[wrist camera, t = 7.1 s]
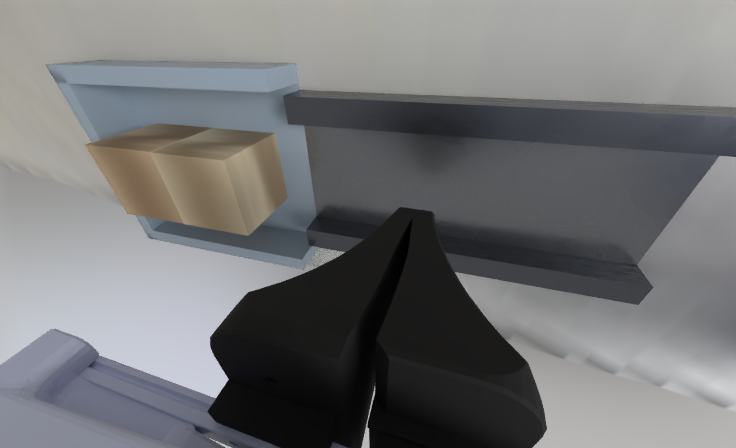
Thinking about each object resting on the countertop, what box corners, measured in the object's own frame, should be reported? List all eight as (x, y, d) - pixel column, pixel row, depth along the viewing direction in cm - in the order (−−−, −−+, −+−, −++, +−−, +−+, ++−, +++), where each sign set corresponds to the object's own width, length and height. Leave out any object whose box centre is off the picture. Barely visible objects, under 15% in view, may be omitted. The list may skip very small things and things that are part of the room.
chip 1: (212, 127, 16) (149, 151, 12) (233, 189, 18) (184, 223, 15) (157, 123, 16) (85, 144, 13) (183, 183, 19) (127, 213, 16)
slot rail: (742, 105, 10) (798, 119, 8) (618, 275, 14) (638, 304, 13) (303, 88, 13) (282, 95, 12) (321, 227, 18) (308, 245, 17)
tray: (300, 62, 13) (264, 69, 10) (323, 240, 19) (304, 269, 16) (108, 59, 15) (45, 64, 13) (183, 215, 22) (149, 238, 19)
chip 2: (274, 133, 15) (223, 160, 11) (287, 197, 17) (248, 235, 14) (212, 128, 16) (149, 152, 12) (233, 190, 18) (184, 224, 15)
